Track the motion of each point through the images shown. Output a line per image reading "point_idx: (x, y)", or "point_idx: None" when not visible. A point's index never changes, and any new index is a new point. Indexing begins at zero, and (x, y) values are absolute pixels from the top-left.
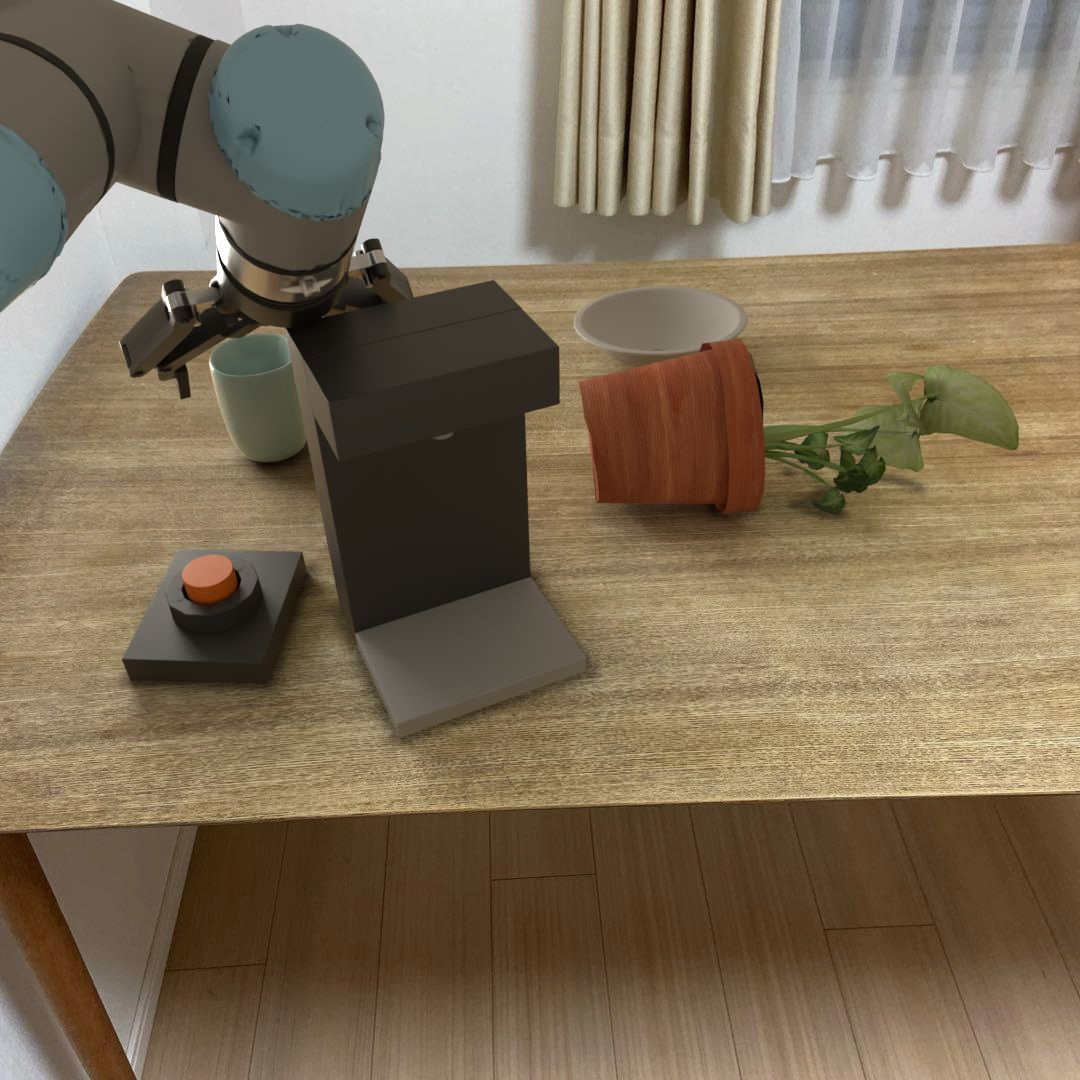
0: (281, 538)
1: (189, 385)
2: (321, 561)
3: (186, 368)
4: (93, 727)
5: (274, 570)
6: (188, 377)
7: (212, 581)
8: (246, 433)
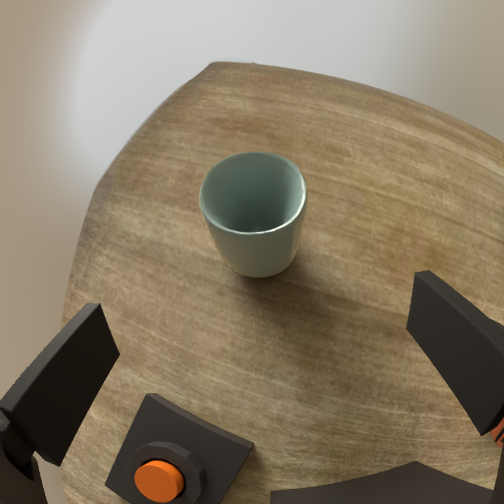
0: (240, 388)
1: (93, 399)
2: (269, 433)
3: (55, 463)
4: (98, 497)
5: (221, 461)
6: (74, 436)
7: (158, 498)
8: (230, 264)
